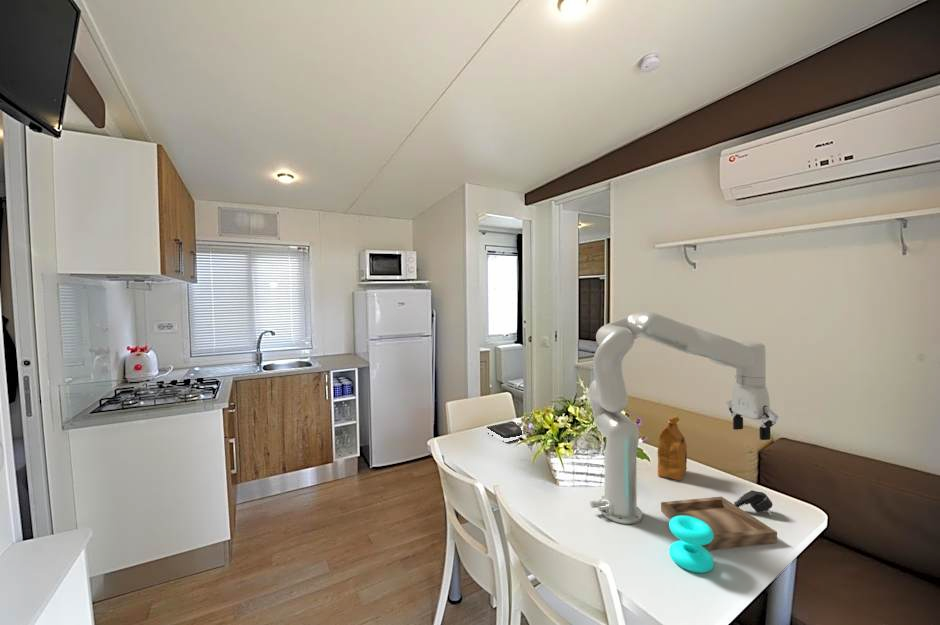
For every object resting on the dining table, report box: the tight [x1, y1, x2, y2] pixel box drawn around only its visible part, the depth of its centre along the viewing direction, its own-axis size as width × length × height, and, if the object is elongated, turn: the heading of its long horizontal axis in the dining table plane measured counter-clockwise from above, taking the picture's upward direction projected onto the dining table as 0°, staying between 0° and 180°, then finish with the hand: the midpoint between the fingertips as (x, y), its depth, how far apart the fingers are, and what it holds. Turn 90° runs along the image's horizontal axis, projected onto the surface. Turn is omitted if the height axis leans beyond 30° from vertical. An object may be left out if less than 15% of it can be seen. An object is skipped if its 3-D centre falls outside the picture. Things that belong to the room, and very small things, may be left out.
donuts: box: [668, 515, 715, 574], centre depth 98 cm, size 10×10×10 cm
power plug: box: [733, 490, 774, 516], centre depth 121 cm, size 6×8×12 cm
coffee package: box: [657, 415, 688, 481], centre depth 147 cm, size 10×12×22 cm
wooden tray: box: [660, 496, 778, 552], centre depth 114 cm, size 22×20×3 cm
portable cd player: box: [486, 421, 522, 438], centre depth 195 cm, size 16×17×4 cm
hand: (751, 434), depth 121 cm, fingers open, 9 cm apart
